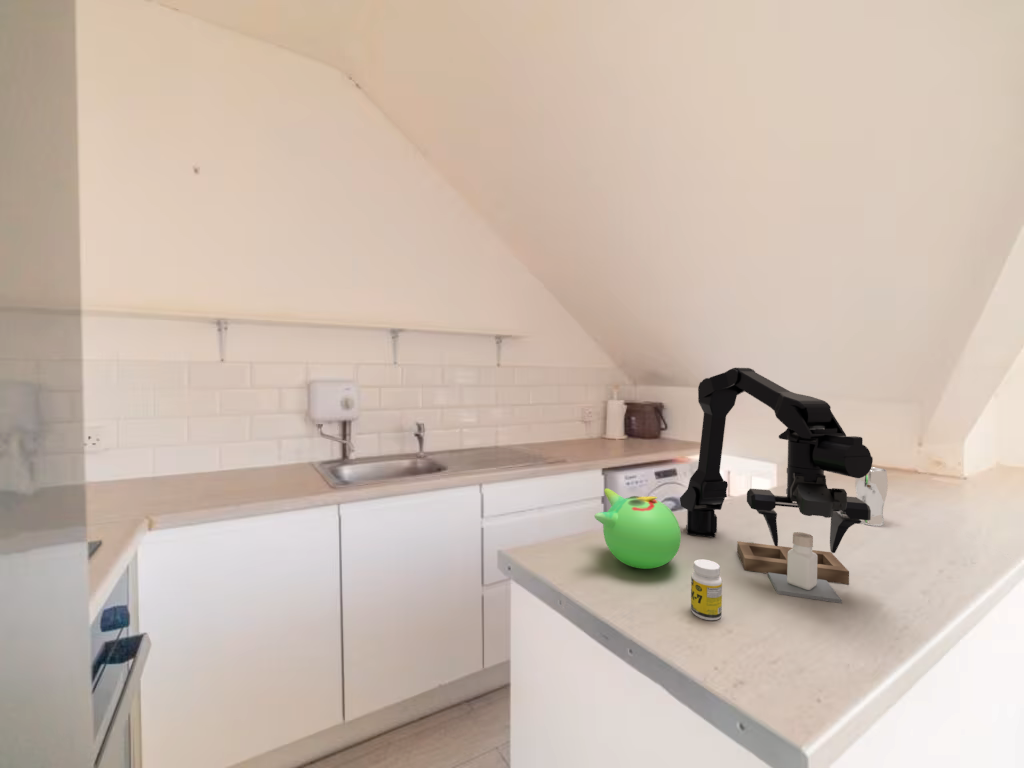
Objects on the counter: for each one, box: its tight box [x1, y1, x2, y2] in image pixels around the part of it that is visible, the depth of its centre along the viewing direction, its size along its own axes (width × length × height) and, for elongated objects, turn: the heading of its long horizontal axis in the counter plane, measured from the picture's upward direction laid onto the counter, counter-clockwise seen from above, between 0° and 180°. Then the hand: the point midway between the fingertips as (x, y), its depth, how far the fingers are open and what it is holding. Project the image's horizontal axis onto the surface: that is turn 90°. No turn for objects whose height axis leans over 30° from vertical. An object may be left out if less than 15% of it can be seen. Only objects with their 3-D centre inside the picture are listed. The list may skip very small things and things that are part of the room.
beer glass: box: [854, 466, 889, 527], centre depth 122 cm, size 7×7×15 cm
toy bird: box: [594, 487, 682, 570], centre depth 94 cm, size 18×17×15 cm
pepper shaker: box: [787, 531, 818, 590], centre depth 84 cm, size 4×4×10 cm
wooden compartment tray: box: [736, 540, 850, 585], centre depth 93 cm, size 18×10×2 cm, turn 71°
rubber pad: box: [767, 572, 843, 604], centre depth 84 cm, size 10×8×1 cm
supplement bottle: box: [690, 558, 723, 621], centre depth 74 cm, size 5×5×8 cm
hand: (803, 548), depth 83 cm, fingers open, 9 cm apart
